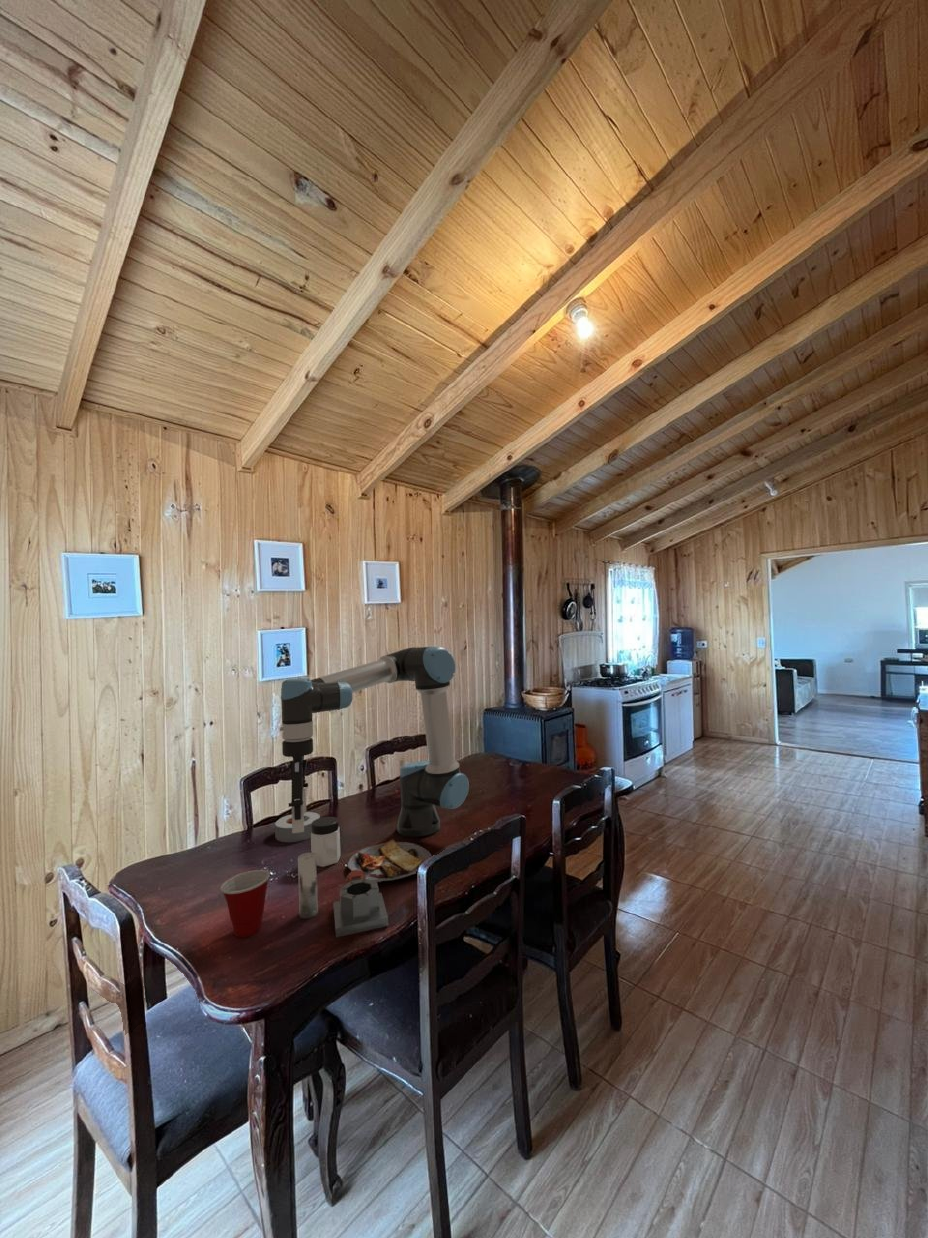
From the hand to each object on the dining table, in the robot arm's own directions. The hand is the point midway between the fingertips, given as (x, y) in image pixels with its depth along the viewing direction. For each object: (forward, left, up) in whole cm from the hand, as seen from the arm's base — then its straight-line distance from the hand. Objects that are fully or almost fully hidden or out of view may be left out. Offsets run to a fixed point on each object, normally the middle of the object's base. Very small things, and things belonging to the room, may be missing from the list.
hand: (299, 822), depth 124 cm
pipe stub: (-2, +3, -22) cm, 22 cm away
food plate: (-25, -15, -22) cm, 36 cm away
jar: (-7, -26, -22) cm, 35 cm away
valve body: (-14, +8, -22) cm, 27 cm away
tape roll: (+2, -53, -22) cm, 58 cm away
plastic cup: (+12, +5, -22) cm, 26 cm away
